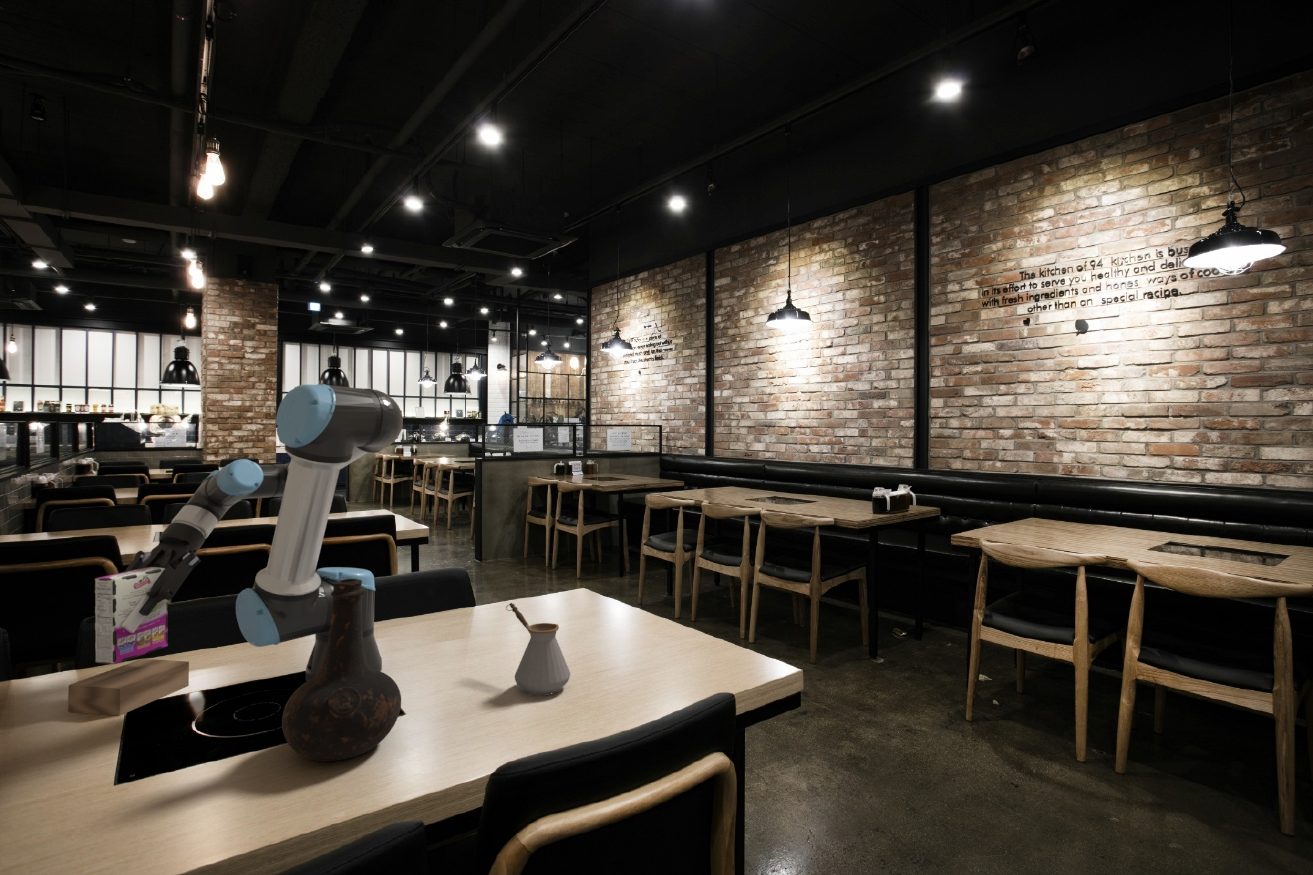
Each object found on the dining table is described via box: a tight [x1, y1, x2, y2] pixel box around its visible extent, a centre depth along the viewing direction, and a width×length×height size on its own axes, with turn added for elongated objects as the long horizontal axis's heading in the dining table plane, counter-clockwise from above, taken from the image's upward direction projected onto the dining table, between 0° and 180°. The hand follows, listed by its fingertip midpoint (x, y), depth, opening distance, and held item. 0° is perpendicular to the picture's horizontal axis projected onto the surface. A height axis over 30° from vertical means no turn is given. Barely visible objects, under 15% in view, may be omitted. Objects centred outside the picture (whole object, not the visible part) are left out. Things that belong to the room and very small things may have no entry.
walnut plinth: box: [67, 658, 190, 716], centre depth 128 cm, size 11×15×5 cm
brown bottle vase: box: [281, 579, 402, 762], centre depth 108 cm, size 18×18×28 cm
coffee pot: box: [505, 602, 571, 697], centre depth 139 cm, size 21×12×15 cm, turn 39°
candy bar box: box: [94, 567, 169, 665], centre depth 128 cm, size 11×5×16 cm, turn 169°
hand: (114, 628), depth 125 cm, fingers closed on candy bar box, 5 cm apart
